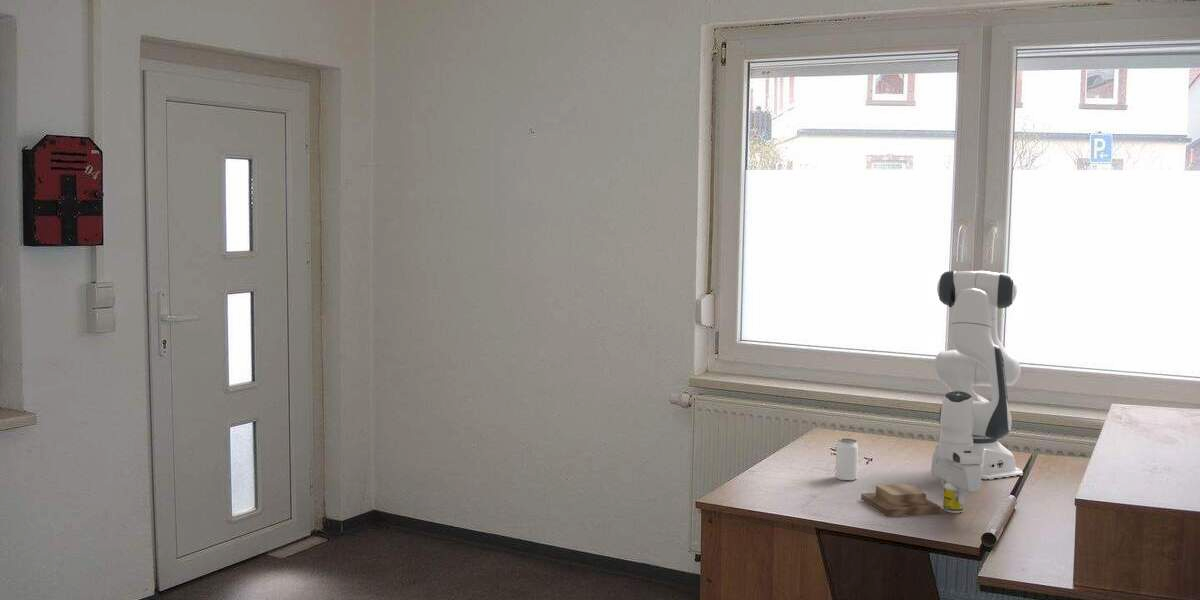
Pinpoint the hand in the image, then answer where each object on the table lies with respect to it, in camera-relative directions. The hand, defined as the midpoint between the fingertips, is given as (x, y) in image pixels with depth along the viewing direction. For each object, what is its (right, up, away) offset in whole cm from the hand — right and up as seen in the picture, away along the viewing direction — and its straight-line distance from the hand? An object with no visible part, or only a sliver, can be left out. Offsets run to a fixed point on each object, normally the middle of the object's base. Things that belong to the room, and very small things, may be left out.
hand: (953, 499), depth 290 cm
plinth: (-14, -3, +4) cm, 15 cm away
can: (-22, 0, +33) cm, 40 cm away
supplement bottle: (0, -3, 0) cm, 3 cm away
